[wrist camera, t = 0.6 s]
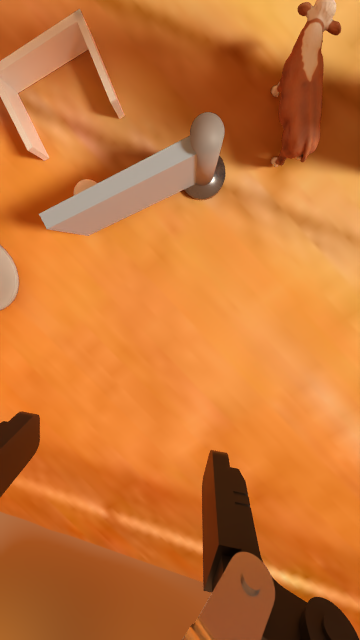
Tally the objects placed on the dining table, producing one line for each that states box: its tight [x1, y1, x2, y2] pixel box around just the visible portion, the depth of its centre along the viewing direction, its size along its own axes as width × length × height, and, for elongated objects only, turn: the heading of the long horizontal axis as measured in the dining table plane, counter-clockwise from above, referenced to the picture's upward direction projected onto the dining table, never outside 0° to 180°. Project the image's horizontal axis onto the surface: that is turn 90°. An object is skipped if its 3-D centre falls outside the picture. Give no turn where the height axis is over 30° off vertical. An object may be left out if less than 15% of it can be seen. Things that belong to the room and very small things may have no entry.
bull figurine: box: [271, 0, 341, 167], centre depth 26 cm, size 4×13×8 cm, turn 1°
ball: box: [74, 179, 98, 195], centre depth 32 cm, size 4×4×4 cm
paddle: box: [39, 112, 225, 236], centre depth 27 cm, size 20×3×11 cm, turn 113°
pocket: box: [0, 9, 125, 161], centre depth 29 cm, size 13×9×4 cm
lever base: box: [184, 156, 225, 200], centre depth 32 cm, size 6×6×1 cm
